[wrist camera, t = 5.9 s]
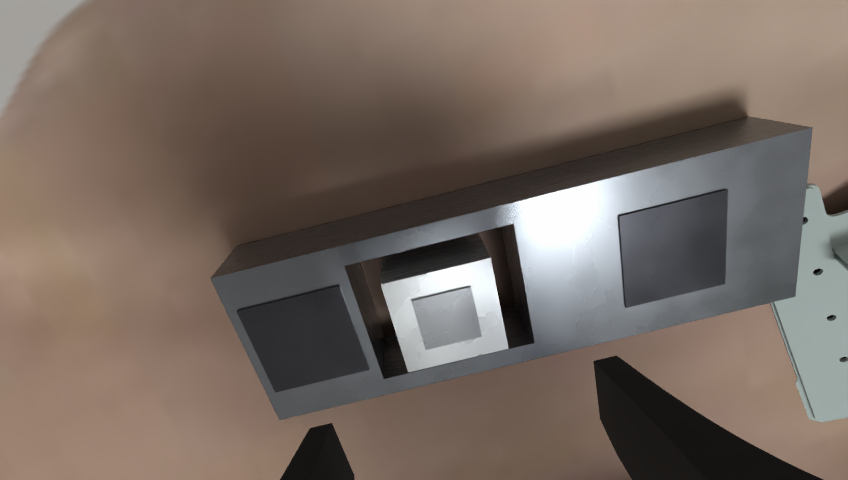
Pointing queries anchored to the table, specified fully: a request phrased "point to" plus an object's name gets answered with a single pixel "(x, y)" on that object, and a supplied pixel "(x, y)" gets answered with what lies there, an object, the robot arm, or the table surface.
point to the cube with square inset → (443, 302)
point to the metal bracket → (819, 312)
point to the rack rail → (536, 260)
